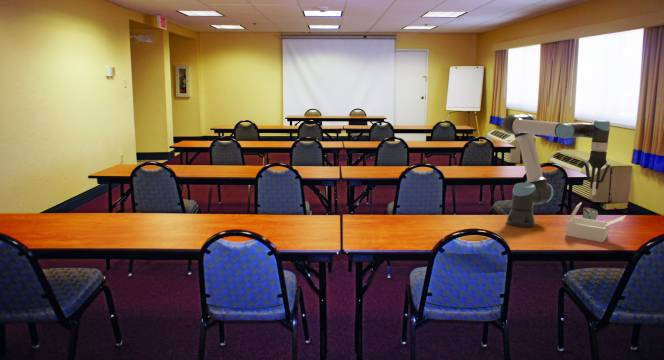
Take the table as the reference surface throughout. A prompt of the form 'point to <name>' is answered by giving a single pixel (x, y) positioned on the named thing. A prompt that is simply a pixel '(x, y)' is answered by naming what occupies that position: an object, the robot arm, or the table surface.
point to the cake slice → (590, 213)
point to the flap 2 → (615, 221)
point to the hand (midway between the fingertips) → (593, 194)
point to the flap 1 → (574, 211)
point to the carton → (587, 229)
